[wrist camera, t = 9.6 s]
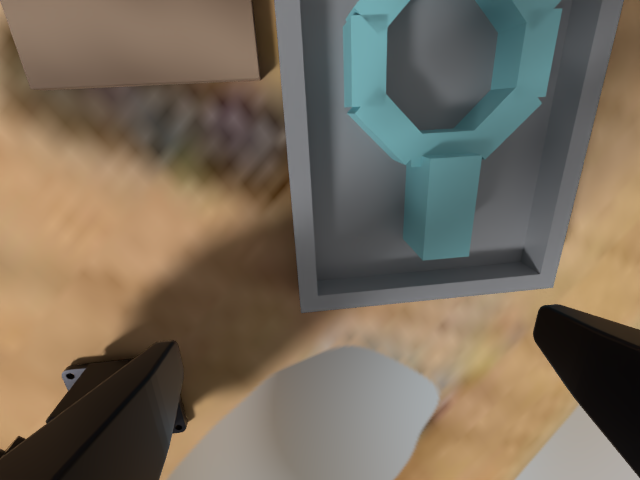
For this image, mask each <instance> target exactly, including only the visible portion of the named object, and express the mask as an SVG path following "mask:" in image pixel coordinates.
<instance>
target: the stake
mask: <svg viewBox="0 0 640 480" xmlns="http://www.w3.org/2000/svg"><path fill="white" fill-rule="evenodd" d="M0 2H1V4H2V7H3V10H4V13H5V16H6V19H7V22H8V25H9V28H10V30H11V33H12V36H13V39H14V42H15V45H16V48H17V51H18V54H19V56H20V59H21V62H22V65H23V68H24V71H25V74H26V77H27V80H28V82H29V85H30V88H31V89H36V90H65V89H86V88H107V87H128V86H149V85H170V84H191V83H212V82H233V81H254V80H261V78H260V68H259V59H258V49H257V40H256V31H255V21H254V12H253V2H252V0H0Z"/></svg>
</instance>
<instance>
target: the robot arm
mask: <svg viewBox="0 0 640 480" xmlns="http://www.w3.org/2000/svg"><path fill="white" fill-rule="evenodd" d="M533 337H534V340H535V342H536V344H537V345H538V347H539V348H540V350H541V351H542V352H543V354H544V355H545V357H546V358H547V360H548V361H549V363H550V364H551V365H552V367H553V368H554V370H555V371H556V373H557V374H558V376H559V377H560V378H561V380H562V381H563V383H564V384H565V386H566V387H567V389H568V390H569V391H570V393H571V394H572V395H573V397H574V398H575V399H576V401H577V402H578V403H579V404H580V406H581V407H582V408H583V409H584V411H585V412H586V413H587V414H588V416H589V417H590V418H591V419H592V420H593V422H594V423H595V424H596V425H597V426H598V428H599V429H600V430H601V431H602V432H603V434H604V435H605V436H606V437H607V439H608V440H609V441H610V442H611V443H612V445H613V446H614V447H615V448H616V450H617V451H618V452H619V453H620V454H621V456H622V457H623V458H624V459H625V461H626V462H627V463H628V464H629V465H630V467H631V468H632V469H633V470H634V472H635V473H636V474H637V475H638V476H639V478H640V330H639V329H635V328H632V327H629V326H626V325H623V324H620V323H616V322H613V321H610V320H607V319H604V318H601V317H597V316H594V315H591V314H588V313H585V312H582V311H578V310H575V309H572V308H569V307H566V306H563V305H558V304H554V305H544V306H542V307H541V308H540V309H539V311H538V314H537V318H536V322H535V327H534V331H533ZM71 373H72V374H71ZM73 374H74V375H73ZM62 378H63V380H64V383H65V385H66V387H67V389H68V392H67V394H66V395H65V396H64V397H63V399H62V400H61V401H60V403H59V404H58V405H57V407H56V408H55V409H54V410H53V412H52V413H51V414H50V416H49V417H48V418H47V420H46V423H47V424H46V425H44V426H43V427H42V428H40V429H39V430H38V431H36V432H35V433H34V434H32V435H31V436H30V437H28V438H27V439H25V438H22V437H20V436H18V437H17V438H16V439H15V440H14V441H13V442H12V444H11V445H10V446H9V447H8V448H7V449H6V450H5V451H4V450H1V449H0V480H159V478H160V475H161V472H162V469H163V466H164V463H165V459H166V456H167V453H168V449H169V446H170V441H171V437H172V433H180V432H183V431H185V429H186V427H187V418H186V415H185V411H184V407H183V404H182V400H181V397H180V393H181V388H182V383H183V378H184V369H183V364H182V360H181V355H180V351H179V346H178V344H177V342H176V341H174V340H170V341H160V342H156V343H155V344H153V345H152V346H151V347H149V348H148V349H147V350H145V351H144V352H142V353H141V354H140V355H138V356H137V357H136V358H134V359H127V360H118V361H109V362H99V363H90V364H81V365H71V366H68V367H67V368H66V369H65V370H64V371H63V373H62Z"/></svg>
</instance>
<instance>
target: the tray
mask: <svg viewBox="0 0 640 480" xmlns="http://www.w3.org/2000/svg"><path fill="white" fill-rule="evenodd" d="M358 1H359V0H274V3H275V14H276V26H277V38H278V49H279V61H280V73H281V85H282V96H283V108H284V120H285V131H286V143H287V155H288V166H289V178H290V190H291V202H292V213H293V225H294V237H295V248H296V260H297V272H298V283H299V295H300V307H301V313H306V312H316V311H326V310H336V309H346V308H356V307H366V306H376V305H386V304H396V303H405V302H415V301H425V300H435V299H445V298H455V297H465V296H475V295H485V294H495V293H505V292H515V291H524V290H534V289H544V288H553V285H554V281H555V277H556V273H557V269H558V265H559V261H560V257H561V253H562V249H563V245H564V241H565V237H566V233H567V229H568V224H569V220H570V216H571V212H572V208H573V204H574V200H575V196H576V192H577V188H578V184H579V180H580V176H581V172H582V168H583V164H584V160H585V156H586V152H587V147H588V143H589V139H590V135H591V131H592V127H593V123H594V119H595V115H596V111H597V107H598V103H599V99H600V95H601V91H602V87H603V83H604V79H605V74H606V70H607V66H608V62H609V58H610V54H611V50H612V46H613V42H614V38H615V34H616V30H617V26H618V22H619V18H620V14H621V10H622V6H623V2H624V0H561V1H560V3H559V4H558V5H557V6H556V7H555V8H554V9H561V8H562V13H561V19H560V24H559V29H558V34H557V40H556V45H555V50H554V55H553V61H552V66H551V71H550V76H549V82H548V87H547V92H546V97H538V99H539V100H540V101H541V103H542V104H541V105H540V106H539V107H538V108H537V109H536V110H535V111H534V112H533V113H532V114H531V115H530V116H529V117H528V118H527V119H526V120H525V121H524V122H523V123H522V124H521V125H520V126H519V127H518V128H517V129H516V130H515V131H514V132H513V133H512V134H511V135H510V136H509V137H508V138H507V139H506V140H505V141H504V142H503V143H502V144H501V145H499V146H498V147H497V148H496V149H495V150H494V151H493V152H492V153H491V154H490V155H489V156H488V157H487V158H486V159H485V160H484V159H482V161H481V168H480V176H479V183H478V191H477V199H476V206H475V214H474V221H473V229H472V236H471V244H470V251H469V256H468V257H457V258H446V259H435V260H424V261H423V260H422V259H421V258H420V257H419V256H418V255H417V254H416V253H415V252H414V250H413V249H412V248H411V247H410V246H409V245H408V244H407V243H406V242H405V241H404V240H403V225H404V204H405V183H406V165H404V164H401V163H399V162H397V161H395V160H393V159H392V158H391V157H390V156H389V155H388V154H387V153H386V152H385V151H384V150H383V149H382V148H381V147H380V146H379V145H378V144H377V143H376V142H375V141H374V140H373V139H372V138H371V137H370V136H369V135H368V134H367V133H366V132H365V131H364V130H363V129H362V128H361V127H360V126H359V125H358V124H357V123H356V122H355V121H354V120H353V119H352V118H351V117H350V116H349V115H348V114H347V113H348V111H349V110H350V109H351V108H352V107H344V62H343V26H344V25H345V23H346V22H347V21H346V20H345V19H346V18H347V16H348V15H349V13H350V12H351V10H352V9H353V7H354V6H355V5H356V3H357V2H358ZM497 37H498V32H497V31H496V29H495V28H494V26H493V25H492V24H491V22H490V21H489V19H488V18H487V17H486V15H485V14H484V12H483V11H482V10H481V8H480V7H479V5H478V4H477V2H476V1H475V0H410V1H409V2H408V3H407V5H406V6H405V7H404V8H403V9H402V11H401V12H400V13H399V14H398V15H397V17H396V18H395V19H394V20H393V21H392V23H391V24H390V25H389V26H388V27H387V68H386V95H387V96H388V97H389V98H390V99H391V100H392V101H393V102H394V103H395V104H396V106H397V107H398V108H399V109H400V110H401V111H402V112H403V113H404V114H405V115H406V117H407V118H408V119H409V120H410V121H411V122H412V123H413V124H414V125H415V126H416V127H417V129H418V130H435V129H452V128H454V127H455V126H456V125H457V124H458V123H459V122H460V121H461V120H462V119H463V118H464V117H465V116H466V115H467V114H468V113H469V112H470V111H471V110H472V109H473V108H474V107H475V105H476V104H477V103H478V102H479V101H480V100H481V99H482V98H483V97H484V96H485V95H486V94H487V93H488V92H489V91H490V90H491V82H492V75H493V67H494V59H495V52H496V44H497Z"/></svg>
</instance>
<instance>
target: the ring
mask: <svg viewBox="0 0 640 480" xmlns="http://www.w3.org/2000/svg"><path fill="white" fill-rule="evenodd" d="M409 1H410V0H359V1H358V2H357V3H356V5H355V6H354V7H353V9H352V10H351V12H350V13H349V15H348V16H347V18H346V19H345V20H346V21H347V22H346V23H345V25H344V26H343V62H344V107H352V108H351V109H350V110H349V111H348V113H347V114H348V115H349V116H350V117H351V118H352V119H353V120H354V121H355V122H356V123H357V124H358V125H359V126H360V127H361V128H362V129H363V130H364V131H365V132H366V133H367V134H368V135H369V136H370V137H371V138H372V139H373V140H374V141H375V142H376V143H377V144H378V145H379V146H380V147H381V148H382V149H383V150H384V151H385V152H386V153H387V154H388V155H389V156H390V157H391V158H392V159H393V160H395V161H397V162H399V163H401V164H404V165H406V183H405V204H404V225H403V240H404V241H405V242H406V243H407V244H408V245H409V246H410V247H411V248H412V249H413V250H414V252H415V253H416V254H417V255H418V256H419V257H420V258H421V259H422V260H423V261H424V260H435V259H446V258H457V257H468V256H469V251H470V244H471V236H472V229H473V221H474V214H475V206H476V199H477V191H478V183H479V176H480V168H481V161H482V159H484V160H485V159H486V158H487V157H488V156H489V155H490V154H491V153H492V152H493V151H494V150H495V149H496V148H497V147H498V146H499V145H501V144H502V143H503V142H504V141H505V140H506V139H507V138H508V137H509V136H510V135H511V134H512V133H513V132H514V131H515V130H516V129H517V128H518V127H519V126H520V125H521V124H522V123H523V122H524V121H525V120H526V119H527V118H528V117H529V116H530V115H531V114H532V113H533V112H534V111H535V110H536V109H537V108H538V107H539V106H540V105H541V104H542V103H541V101H540V100H539V99H538V97H546V92H547V87H548V82H549V76H550V71H551V66H552V61H553V55H554V50H555V45H556V40H557V34H558V29H559V24H560V19H561V13H562V8H561V9H554V8H555V7H556V6H557V5H558V4H559V3H560V1H561V0H475V1H476V2H477V4H478V5H479V7H480V8H481V10H482V11H483V12H484V14H485V15H486V17H487V18H488V19H489V21H490V22H491V24H492V25H493V26H494V28H495V29H496V31H497V32H498V37H497V44H496V52H495V59H494V67H493V75H492V82H491V90H490V91H489V92H488V93H487V94H486V95H485V96H484V97H483V98H482V99H481V100H480V101H479V102H478V103H477V104H476V105H475V107H474V108H473V109H472V110H471V111H470V112H469V113H468V114H467V115H466V116H465V117H464V118H463V119H462V120H461V121H460V122H459V123H458V124H457V125H456V126H455V127H454V128H452V129H435V130H418V129H417V127H416V126H415V125H414V124H413V123H412V122H411V121H410V120H409V119H408V118H407V117H406V115H405V114H404V113H403V112H402V111H401V110H400V109H399V108H398V107H397V106H396V104H395V103H394V102H393V101H392V100H391V99H390V98H389V97H388V96H387V95H386V68H387V27H388V26H389V25H390V24H391V23H392V21H393V20H394V19H395V18H396V17H397V15H398V14H399V13H400V12H401V11H402V9H403V8H404V7H405V6H406V5H407V3H408V2H409Z"/></svg>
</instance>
